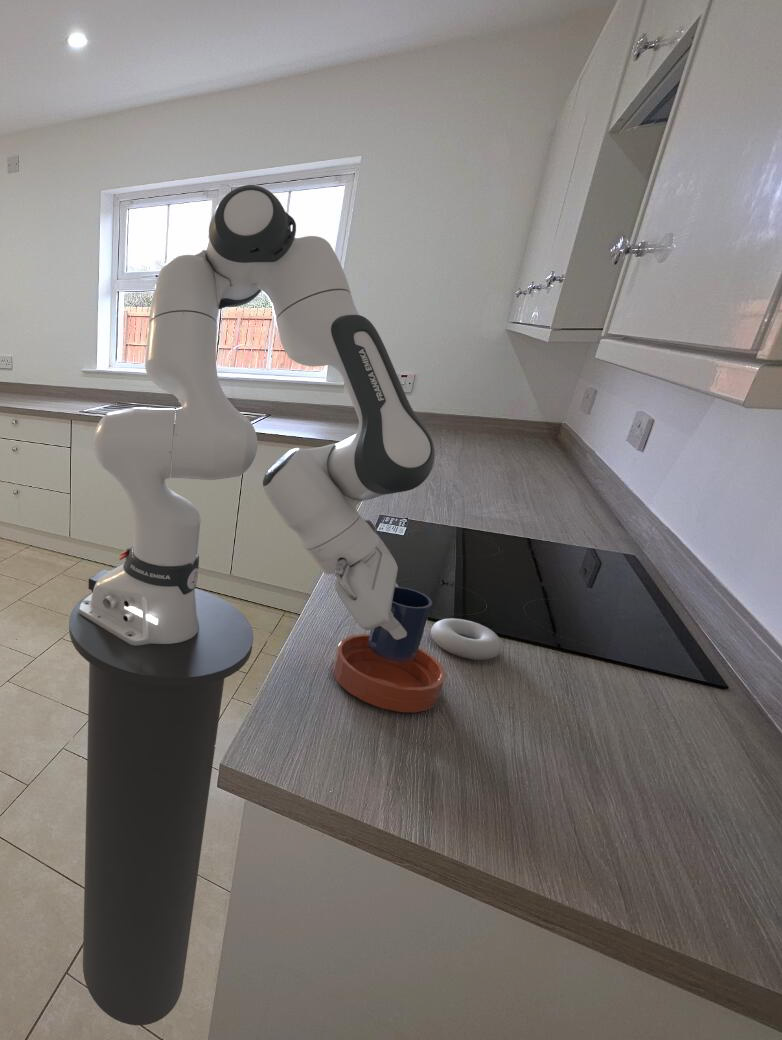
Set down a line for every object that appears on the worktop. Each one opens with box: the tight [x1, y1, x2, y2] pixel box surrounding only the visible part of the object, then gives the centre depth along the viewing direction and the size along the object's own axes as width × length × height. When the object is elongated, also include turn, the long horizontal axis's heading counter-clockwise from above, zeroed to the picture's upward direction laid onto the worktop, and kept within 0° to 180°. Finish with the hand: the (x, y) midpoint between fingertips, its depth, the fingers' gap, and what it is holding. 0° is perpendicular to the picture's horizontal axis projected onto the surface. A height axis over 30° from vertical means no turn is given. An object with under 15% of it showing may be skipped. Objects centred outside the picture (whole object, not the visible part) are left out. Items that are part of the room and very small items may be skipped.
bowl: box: [332, 633, 447, 713], centre depth 85 cm, size 14×14×4 cm
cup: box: [368, 586, 433, 662], centre depth 83 cm, size 6×6×9 cm
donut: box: [430, 617, 503, 661], centre depth 95 cm, size 10×4×10 cm
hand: (403, 623), depth 82 cm, fingers closed on cup, 6 cm apart
